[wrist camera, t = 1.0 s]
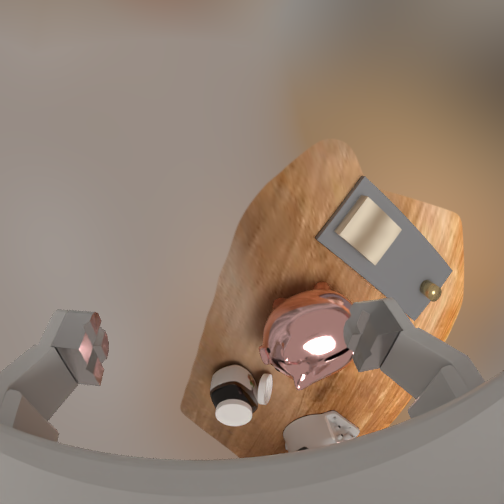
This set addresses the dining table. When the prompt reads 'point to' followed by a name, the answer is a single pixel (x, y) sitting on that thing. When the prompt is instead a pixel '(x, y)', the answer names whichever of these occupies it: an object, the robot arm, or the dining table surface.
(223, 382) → the spread jar
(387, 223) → the beige flat block
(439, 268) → the board
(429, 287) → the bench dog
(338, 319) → the piggy bank
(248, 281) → the dining table surface
